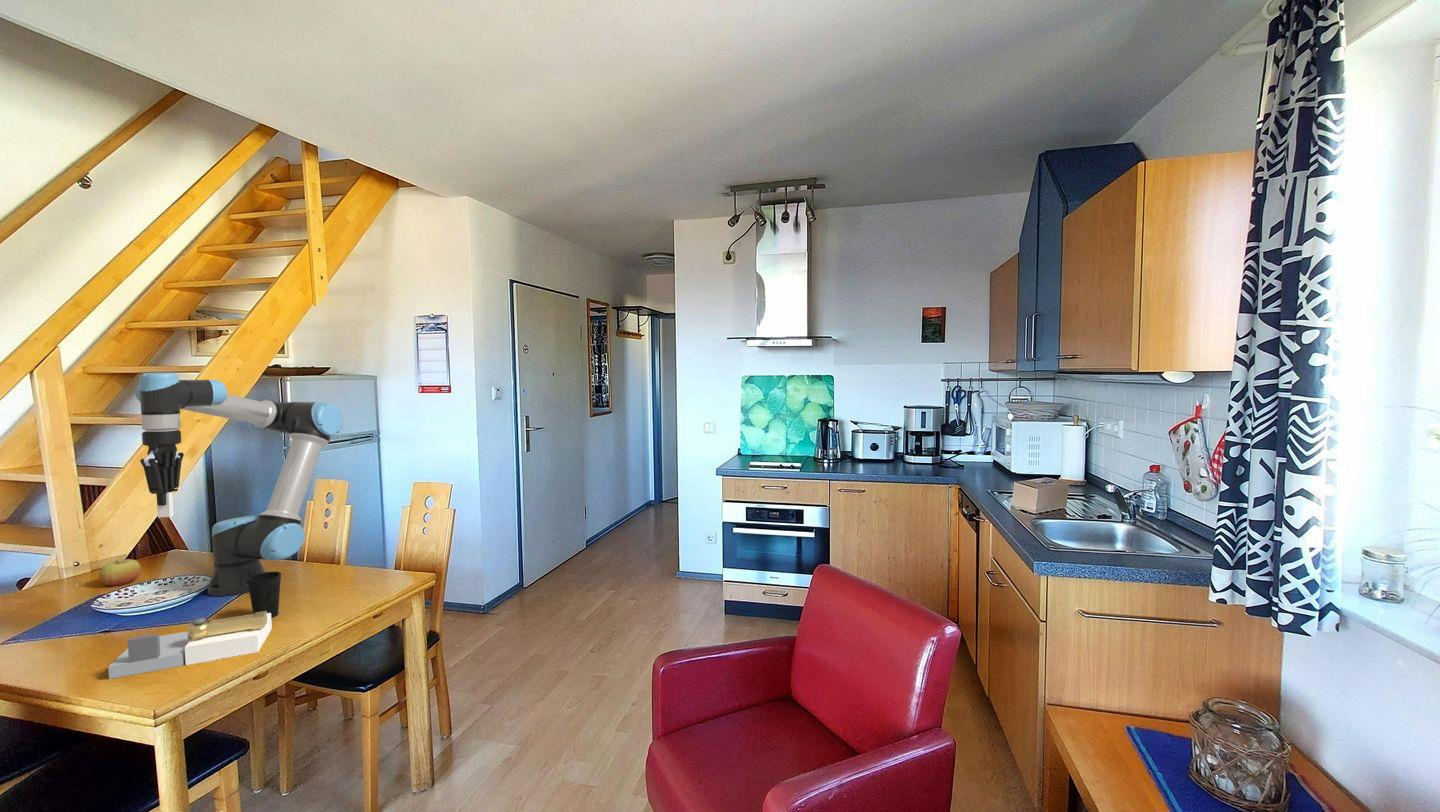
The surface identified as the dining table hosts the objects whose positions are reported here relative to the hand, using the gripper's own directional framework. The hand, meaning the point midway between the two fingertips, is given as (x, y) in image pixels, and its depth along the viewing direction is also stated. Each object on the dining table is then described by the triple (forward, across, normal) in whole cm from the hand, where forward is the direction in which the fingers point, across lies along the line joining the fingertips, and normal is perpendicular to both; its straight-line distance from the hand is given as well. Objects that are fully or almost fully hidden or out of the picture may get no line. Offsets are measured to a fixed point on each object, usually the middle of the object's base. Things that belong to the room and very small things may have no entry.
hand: (165, 516), depth 154 cm
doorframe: (+32, +15, +14) cm, 38 cm away
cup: (+32, -5, +20) cm, 38 cm away
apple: (+32, -47, -41) cm, 70 cm away
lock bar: (+27, +16, +21) cm, 38 cm away
